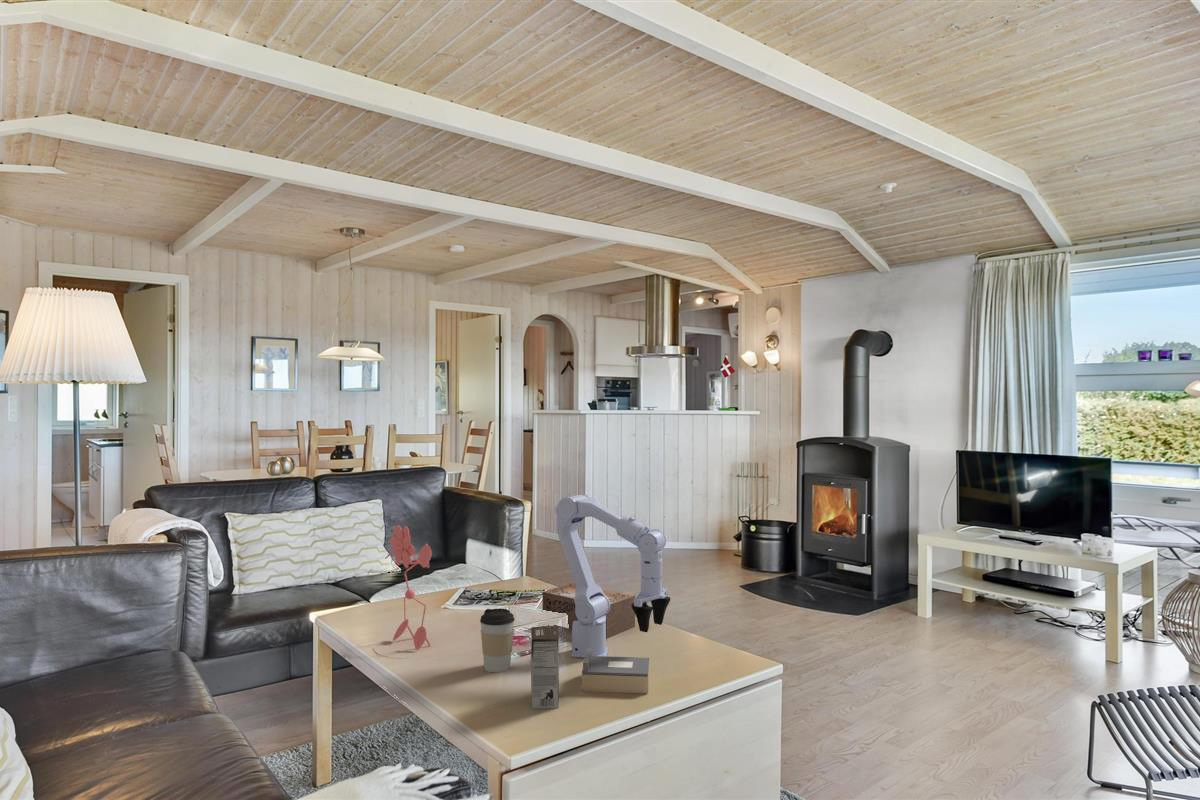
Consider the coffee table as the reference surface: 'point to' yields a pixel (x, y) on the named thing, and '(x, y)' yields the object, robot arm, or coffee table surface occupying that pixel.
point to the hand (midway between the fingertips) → (651, 627)
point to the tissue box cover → (616, 618)
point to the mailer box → (615, 683)
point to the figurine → (403, 552)
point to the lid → (615, 665)
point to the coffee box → (544, 667)
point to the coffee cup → (497, 639)
